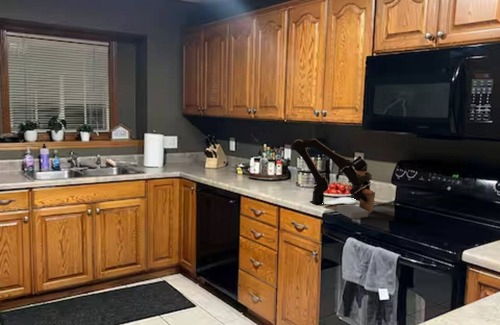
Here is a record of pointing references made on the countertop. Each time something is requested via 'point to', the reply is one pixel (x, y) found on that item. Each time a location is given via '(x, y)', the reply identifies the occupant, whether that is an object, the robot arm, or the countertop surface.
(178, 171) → the countertop surface
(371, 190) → the cargo block
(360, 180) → the robot arm
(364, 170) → the travel mug
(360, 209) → the dock
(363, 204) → the brown cylinder
